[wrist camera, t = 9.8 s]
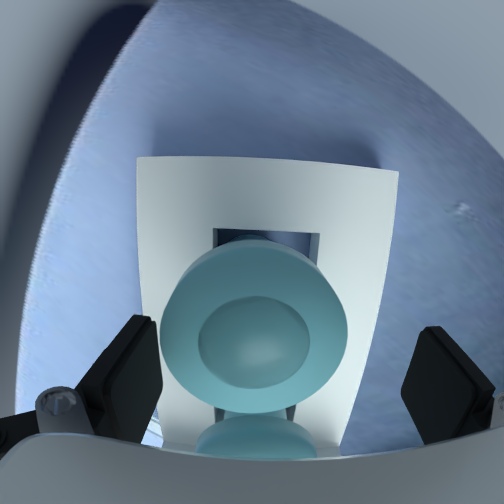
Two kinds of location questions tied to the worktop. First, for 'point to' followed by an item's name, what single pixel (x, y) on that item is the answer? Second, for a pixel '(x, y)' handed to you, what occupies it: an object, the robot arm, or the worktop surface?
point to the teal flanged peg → (257, 437)
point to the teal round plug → (253, 327)
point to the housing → (273, 219)
